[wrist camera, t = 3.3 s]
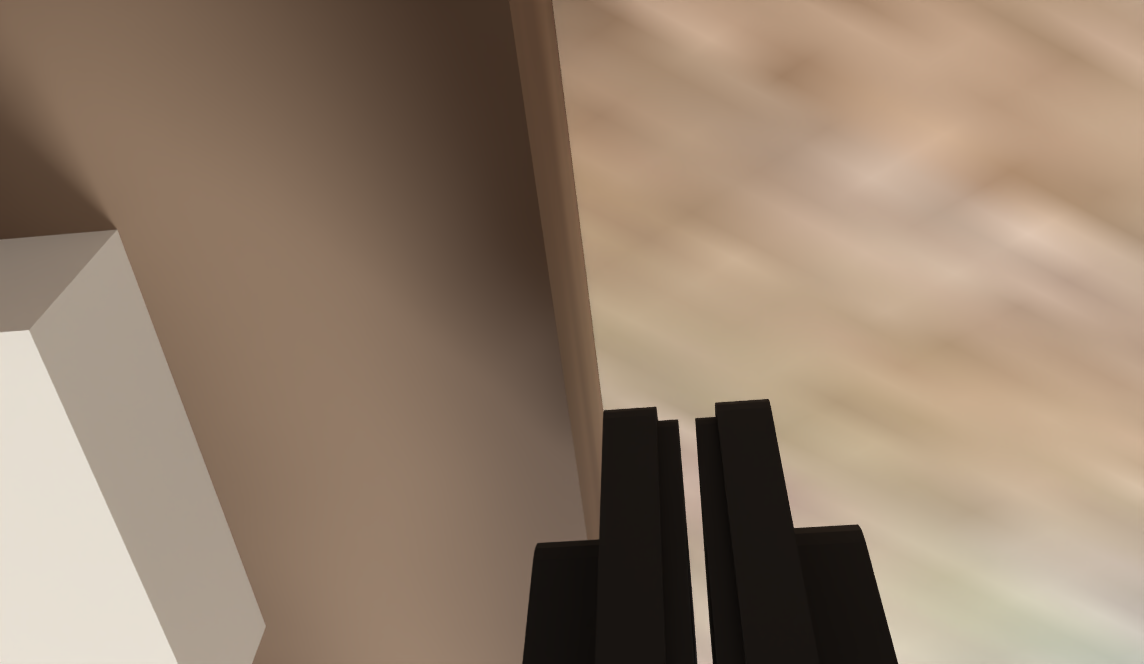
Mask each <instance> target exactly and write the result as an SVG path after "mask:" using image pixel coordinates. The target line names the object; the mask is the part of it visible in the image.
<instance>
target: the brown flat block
mask: <svg viewBox="0 0 1144 664" xmlns="http://www.w3.org/2000/svg"><path fill="white" fill-rule="evenodd" d="M107 230H118V233H119V236H120V238H121V241H122V244H123V246H124V249H125V252H126V254H127V257H128V260H129V262H130V265H131V268H132V270H133V273H134V276H135V278H136V281H137V284H138V286H139V289H140V292H141V294H142V297H143V300H144V302H145V305H146V308H147V310H148V313H149V316H150V318H151V321H152V324H153V326H154V329H155V332H156V334H157V337H158V340H159V342H160V345H161V348H162V350H163V353H164V356H165V358H166V361H167V364H168V366H169V369H170V372H171V374H172V377H173V380H174V382H175V385H176V388H177V391H178V393H179V396H180V399H181V401H182V404H183V407H184V409H185V412H186V415H187V417H188V420H189V423H190V425H191V428H192V431H193V433H194V436H195V439H196V441H197V444H198V447H199V449H200V452H201V455H202V457H203V460H204V463H205V465H206V468H207V471H208V473H209V476H210V479H211V481H212V484H213V487H214V489H215V492H216V495H217V497H218V500H219V503H220V505H221V508H222V511H223V513H224V516H225V519H226V521H227V524H228V527H229V529H230V532H231V535H232V537H233V540H234V543H235V545H236V548H237V551H238V553H239V556H240V559H241V561H242V564H243V567H244V569H245V572H246V575H247V577H248V580H249V583H250V585H251V588H252V591H253V593H254V596H255V599H256V601H257V604H258V607H259V609H260V612H261V615H262V617H263V620H264V623H265V625H266V627H265V630H264V633H263V635H262V638H261V641H260V643H259V646H258V649H257V651H256V654H255V657H254V659H253V662H252V664H522V661H523V651H524V642H525V632H526V622H527V612H528V603H529V593H530V583H531V574H532V564H533V556H534V550H535V547H536V545H537V543H544V542H561V541H579V540H596V539H599V526H600V494H601V462H602V430H603V406H602V398H601V390H600V382H599V374H598V366H597V358H596V350H595V342H594V334H593V326H592V318H591V310H590V302H589V294H588V286H587V278H586V270H585V262H584V254H583V246H582V238H581V230H580V222H579V213H578V205H577V197H576V189H575V181H574V173H573V165H572V157H571V149H570V141H569V133H568V125H567V117H566V109H565V101H564V93H563V85H562V77H561V69H560V61H559V53H558V45H557V37H556V29H555V21H554V13H553V5H552V0H0V240H2V239H13V238H25V237H37V236H48V235H60V234H72V233H83V232H95V231H107Z"/></svg>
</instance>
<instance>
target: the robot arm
mask: <svg viewBox="0 0 1144 664" xmlns="http://www.w3.org/2000/svg"><path fill="white" fill-rule="evenodd" d="M715 416H716V417H708V418H695V422H696V437H697V451H698V466H699V480H700V494H701V509H702V523H703V537H704V551H705V566H706V580H707V594H708V608H709V622H710V634H711V646H712V658H713V664H898V662H897V658H896V654H895V650H894V647H893V643H892V639H891V635H890V632H889V628H888V624H887V620H886V617H885V613H884V609H883V605H882V602H881V598H880V594H879V590H878V587H877V583H876V579H875V575H874V572H873V568H872V564H871V560H870V557H869V553H868V549H867V545H866V542H865V539H864V536H863V532H862V530H861V528H860V527H859V525H841V526H824V527H806V528H794V527H793V521H792V516H791V511H790V506H789V500H788V495H787V490H786V484H785V479H784V474H783V469H782V463H781V458H780V453H779V447H778V442H777V437H776V432H775V426H774V421H773V416H772V410H771V406H770V401H769V399H763V400H748V401H734V402H719V403H715ZM522 664H697V652H696V637H695V624H694V611H693V598H692V586H691V573H690V561H689V548H688V536H687V523H686V511H685V498H684V486H683V473H682V461H681V448H680V436H679V424H678V420H663V421H658V417H657V409H656V407H646V408H631V409H617V410H604V412H603V430H602V462H601V494H600V526H599V539H596V540H579V541H561V542H544V543H537V545H536V547H535V550H534V556H533V564H532V574H531V583H530V593H529V603H528V612H527V622H526V632H525V642H524V651H523V661H522Z"/></svg>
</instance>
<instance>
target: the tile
mask: <svg viewBox="0 0 1144 664" xmlns="http://www.w3.org/2000/svg"><path fill="white" fill-rule="evenodd" d="M265 627H266V625H265V623H264V620H263V617H262V615H261V612H260V609H259V607H258V604H257V601H256V599H255V596H254V593H253V591H252V588H251V585H250V583H249V580H248V577H247V575H246V572H245V569H244V567H243V564H242V561H241V559H240V556H239V553H238V551H237V548H236V545H235V543H234V540H233V537H232V535H231V532H230V529H229V527H228V524H227V521H226V519H225V516H224V513H223V511H222V508H221V505H220V503H219V500H218V497H217V495H216V492H215V489H214V487H213V484H212V481H211V479H210V476H209V473H208V471H207V468H206V465H205V463H204V460H203V457H202V455H201V452H200V449H199V447H198V444H197V441H196V439H195V436H194V433H193V431H192V428H191V425H190V423H189V420H188V417H187V415H186V412H185V409H184V407H183V404H182V401H181V399H180V396H179V393H178V391H177V388H176V385H175V382H174V380H173V377H172V374H171V372H170V369H169V366H168V364H167V361H166V358H165V356H164V353H163V350H162V348H161V345H160V342H159V340H158V337H157V334H156V332H155V329H154V326H153V324H152V321H151V318H150V316H149V313H148V310H147V308H146V305H145V302H144V300H143V297H142V294H141V292H140V289H139V286H138V284H137V281H136V278H135V276H134V273H133V270H132V268H131V265H130V262H129V260H128V257H127V254H126V252H125V249H124V246H123V244H122V241H121V238H120V236H119V233H118V230H107V231H95V232H83V233H72V234H60V235H48V236H37V237H25V238H13V239H2V240H0V664H252V662H253V659H254V657H255V654H256V651H257V649H258V646H259V643H260V641H261V638H262V635H263V633H264V630H265Z"/></svg>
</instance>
